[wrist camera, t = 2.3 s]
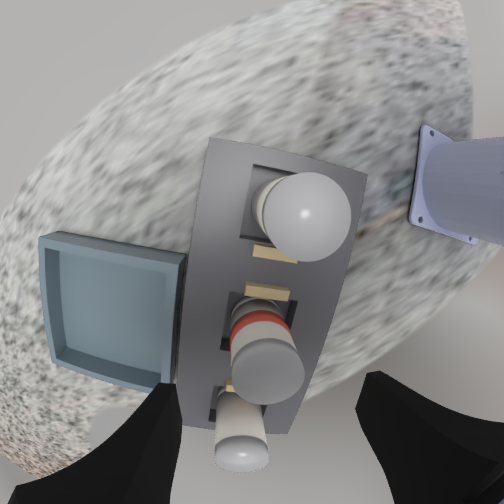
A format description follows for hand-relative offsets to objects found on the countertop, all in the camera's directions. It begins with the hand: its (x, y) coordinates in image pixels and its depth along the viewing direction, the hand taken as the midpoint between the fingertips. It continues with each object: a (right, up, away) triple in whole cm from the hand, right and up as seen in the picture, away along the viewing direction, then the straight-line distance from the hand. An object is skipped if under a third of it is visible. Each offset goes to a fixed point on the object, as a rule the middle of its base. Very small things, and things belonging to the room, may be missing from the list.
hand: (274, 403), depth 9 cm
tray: (-11, +1, +9) cm, 14 cm away
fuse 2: (+1, +8, +7) cm, 11 cm away
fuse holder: (-1, +2, +9) cm, 9 cm away
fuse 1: (-2, -5, +10) cm, 11 cm away
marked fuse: (-1, +1, +8) cm, 8 cm away
